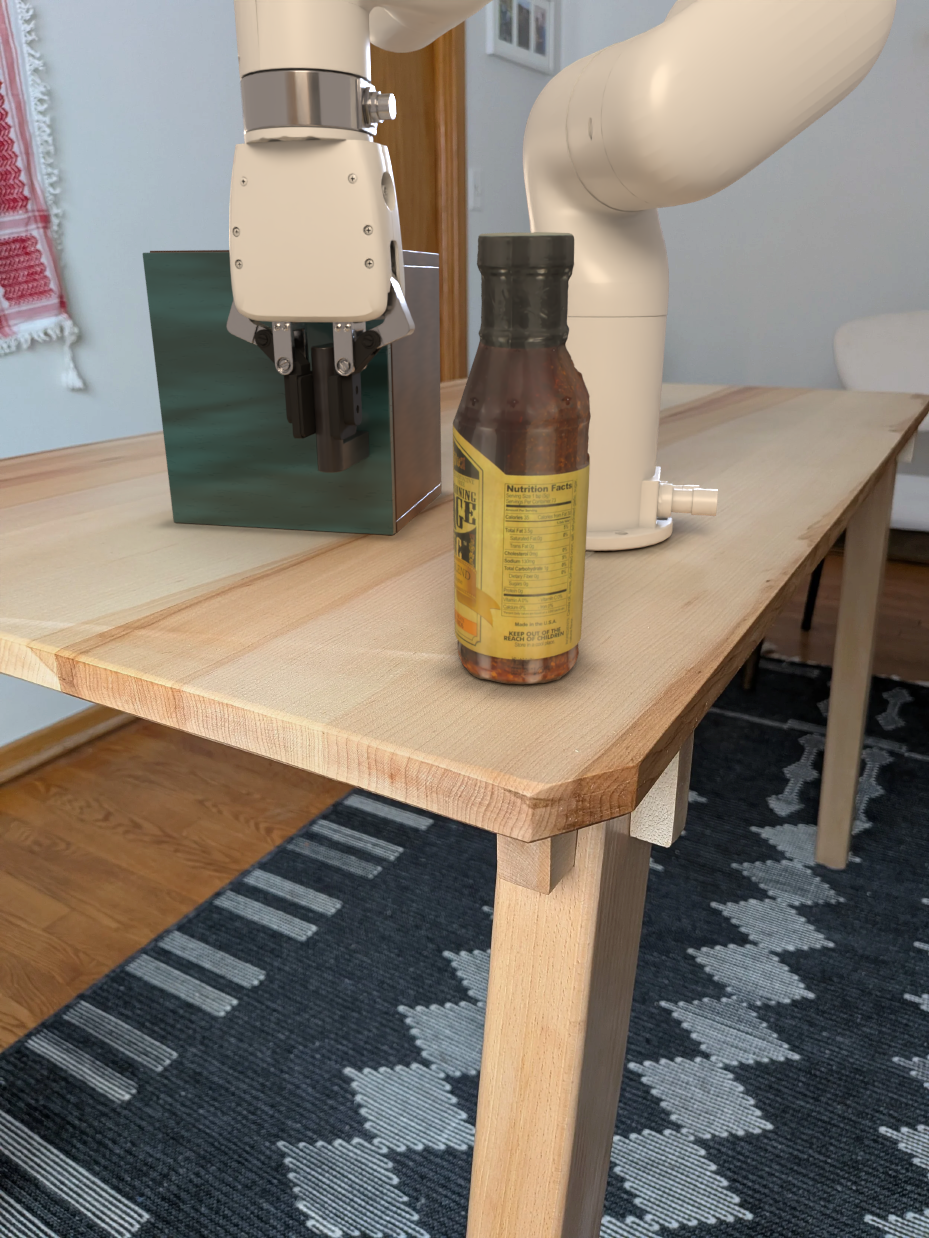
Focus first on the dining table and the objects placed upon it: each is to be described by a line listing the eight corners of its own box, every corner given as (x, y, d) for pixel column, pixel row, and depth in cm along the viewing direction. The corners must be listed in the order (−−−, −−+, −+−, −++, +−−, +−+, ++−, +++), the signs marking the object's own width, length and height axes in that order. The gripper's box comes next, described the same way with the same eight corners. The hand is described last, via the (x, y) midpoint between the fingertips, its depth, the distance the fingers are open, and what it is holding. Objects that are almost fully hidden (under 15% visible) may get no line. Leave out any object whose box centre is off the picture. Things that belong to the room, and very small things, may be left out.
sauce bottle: (465, 638, 49) (464, 236, 42) (583, 645, 48) (602, 235, 41) (443, 690, 43) (437, 229, 36) (577, 699, 42) (598, 227, 35)
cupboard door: (366, 559, 62) (353, 247, 55) (128, 544, 66) (88, 250, 59) (396, 532, 69) (388, 250, 62) (178, 520, 72) (147, 253, 65)
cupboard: (397, 533, 69) (389, 248, 62) (180, 521, 73) (149, 250, 66) (441, 493, 82) (439, 253, 75) (255, 485, 85) (236, 255, 78)
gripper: (454, 124, 55) (456, 431, 62) (213, 133, 58) (239, 424, 65) (422, 103, 48) (427, 450, 55) (151, 114, 52) (186, 441, 58)
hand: (325, 434), depth 60 cm, fingers closed on cupboard door, 2 cm apart
